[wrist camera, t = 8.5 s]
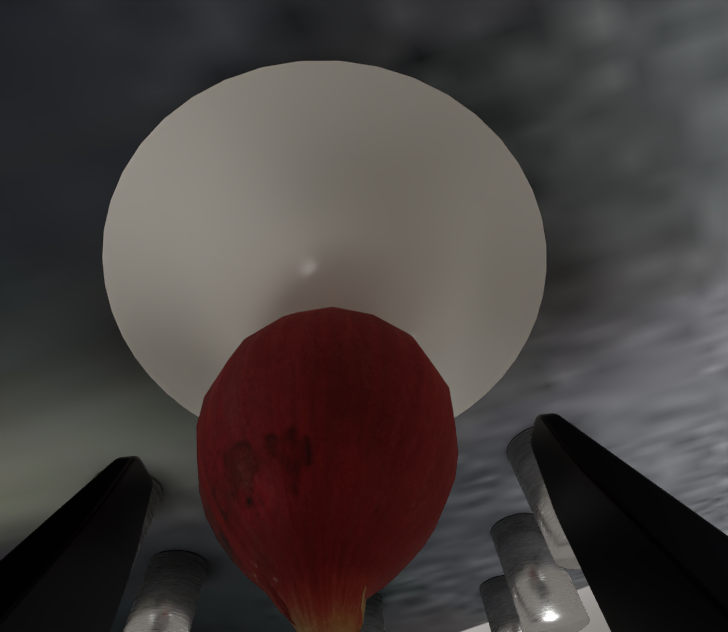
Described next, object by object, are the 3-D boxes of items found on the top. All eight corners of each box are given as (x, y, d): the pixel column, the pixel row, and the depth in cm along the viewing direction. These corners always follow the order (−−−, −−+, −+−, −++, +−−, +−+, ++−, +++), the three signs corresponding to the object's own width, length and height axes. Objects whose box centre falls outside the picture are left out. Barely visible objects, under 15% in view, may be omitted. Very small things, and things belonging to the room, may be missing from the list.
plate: (502, 413, 16) (514, 435, 15) (198, 444, 16) (189, 468, 15) (568, 40, 9) (597, 35, 8) (34, 85, 9) (-4, 86, 8)
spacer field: (521, 594, 26) (553, 683, 22) (198, 629, 26) (174, 725, 22) (578, 421, 17) (648, 521, 13) (78, 472, 16) (2, 590, 13)
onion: (244, 403, 13) (125, 735, 6) (243, 247, 11) (32, 531, 4) (406, 418, 14) (461, 738, 7) (446, 273, 11) (606, 564, 4)
